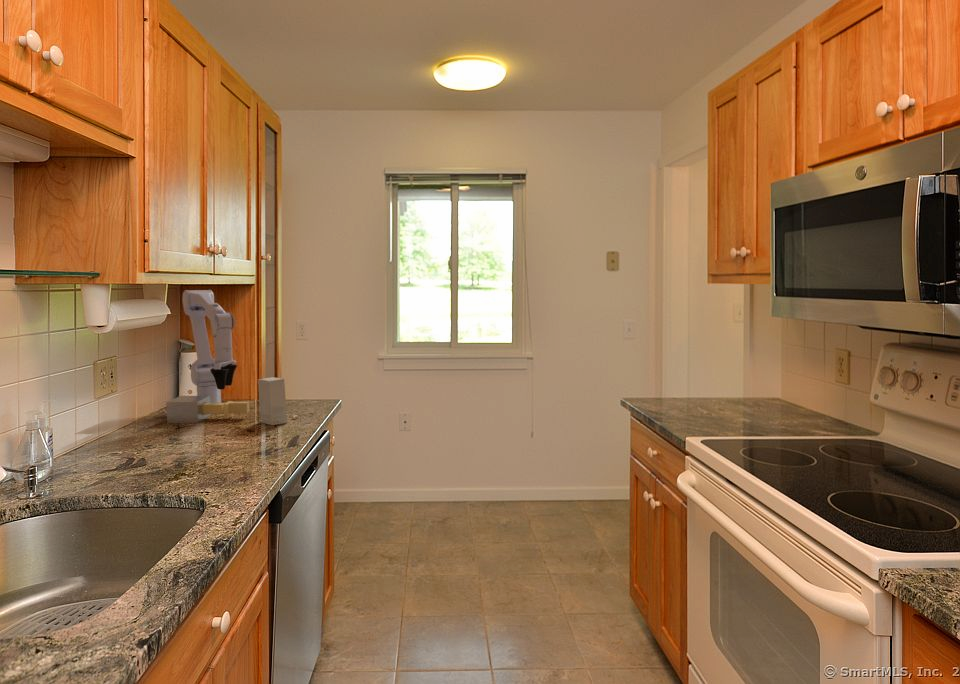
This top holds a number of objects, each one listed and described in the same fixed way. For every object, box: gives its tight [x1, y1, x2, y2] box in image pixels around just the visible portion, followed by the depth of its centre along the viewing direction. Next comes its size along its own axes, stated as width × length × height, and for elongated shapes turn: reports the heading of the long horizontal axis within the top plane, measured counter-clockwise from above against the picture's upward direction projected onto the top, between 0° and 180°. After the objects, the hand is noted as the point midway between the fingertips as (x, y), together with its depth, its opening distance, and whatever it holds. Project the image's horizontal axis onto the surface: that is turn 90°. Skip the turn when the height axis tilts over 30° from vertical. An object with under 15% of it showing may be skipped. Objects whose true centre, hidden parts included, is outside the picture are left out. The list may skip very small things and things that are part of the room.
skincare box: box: [257, 377, 288, 426], centre depth 217 cm, size 8×6×15 cm
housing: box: [166, 395, 212, 424], centre depth 223 cm, size 12×10×7 cm
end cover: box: [202, 400, 251, 420], centre depth 224 cm, size 6×15×5 cm, turn 93°
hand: (224, 387), depth 227 cm, fingers open, 7 cm apart
